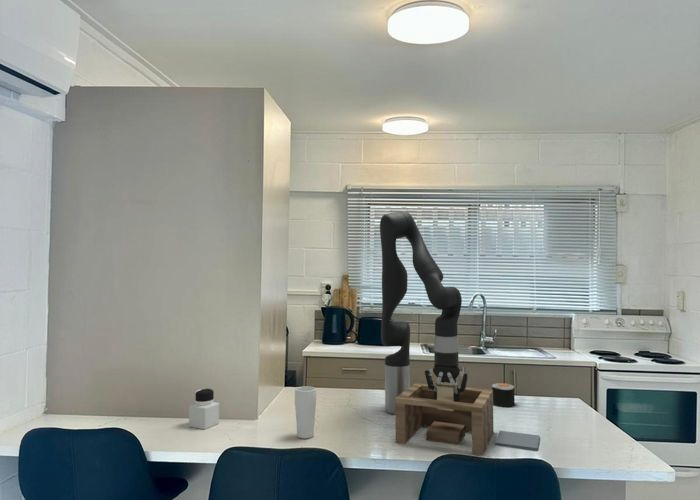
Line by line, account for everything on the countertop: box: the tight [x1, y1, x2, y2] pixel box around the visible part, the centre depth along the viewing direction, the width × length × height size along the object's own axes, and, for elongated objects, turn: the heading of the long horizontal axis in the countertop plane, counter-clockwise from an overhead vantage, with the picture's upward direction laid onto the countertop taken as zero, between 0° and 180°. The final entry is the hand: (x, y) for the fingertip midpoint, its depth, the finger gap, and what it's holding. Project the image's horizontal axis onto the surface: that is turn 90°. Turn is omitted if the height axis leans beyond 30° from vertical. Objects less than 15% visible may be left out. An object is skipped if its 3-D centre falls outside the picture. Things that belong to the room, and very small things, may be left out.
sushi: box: [491, 382, 516, 409], centre depth 193 cm, size 8×8×8 cm
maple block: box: [437, 382, 454, 411], centre depth 157 cm, size 5×5×7 cm
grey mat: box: [494, 430, 540, 452], centre depth 152 cm, size 12×12×1 cm
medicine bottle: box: [188, 388, 220, 430], centre depth 168 cm, size 7×7×12 cm
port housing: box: [394, 382, 494, 457], centre depth 156 cm, size 22×26×14 cm
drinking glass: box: [294, 385, 317, 440], centre depth 157 cm, size 7×7×15 cm
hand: (446, 403), depth 157 cm, fingers closed on maple block, 5 cm apart
